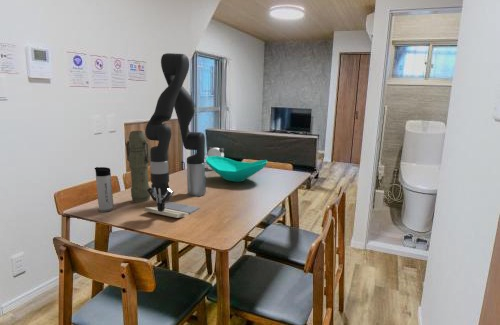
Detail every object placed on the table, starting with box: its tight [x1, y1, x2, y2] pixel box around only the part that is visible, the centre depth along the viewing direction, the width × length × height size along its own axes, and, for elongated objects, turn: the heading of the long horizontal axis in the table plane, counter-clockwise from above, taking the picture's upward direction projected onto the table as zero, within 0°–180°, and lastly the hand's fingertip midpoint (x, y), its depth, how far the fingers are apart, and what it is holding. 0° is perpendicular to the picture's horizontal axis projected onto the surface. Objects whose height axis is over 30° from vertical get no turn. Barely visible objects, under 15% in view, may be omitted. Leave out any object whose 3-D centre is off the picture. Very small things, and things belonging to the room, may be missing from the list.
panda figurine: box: [207, 146, 225, 171], centre depth 237 cm, size 12×11×15 cm
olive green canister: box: [125, 130, 151, 204], centre depth 162 cm, size 9×12×35 cm
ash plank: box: [144, 206, 190, 219], centre depth 146 cm, size 8×18×2 cm, turn 64°
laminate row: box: [165, 201, 201, 215], centre depth 153 cm, size 8×18×2 cm, turn 64°
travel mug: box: [94, 166, 115, 213], centre depth 151 cm, size 6×7×20 cm
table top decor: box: [205, 156, 268, 183], centre depth 205 cm, size 40×28×13 cm
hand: (161, 210), depth 142 cm, fingers closed
